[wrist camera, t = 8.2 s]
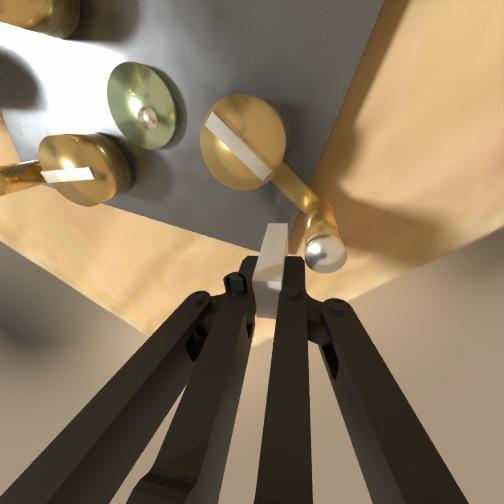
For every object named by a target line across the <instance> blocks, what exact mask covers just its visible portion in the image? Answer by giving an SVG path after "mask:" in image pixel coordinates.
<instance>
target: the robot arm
mask: <svg viewBox="0 0 504 504" xmlns="http://www.w3.org/2000/svg"><path fill="white" fill-rule="evenodd" d="M223 281H224V285H225V289H226V292H225V293H224V294H221V295H216V296H210V294H209V293H208V292H206V291H197V292H194V293H192V294H191V295H189V296H188V297H187V298H186V299H185V300H184V301H183V303H182V304H181V305H180V306H179V307H178V308H177V309H176V310H175V311H174V312H173V313H172V314H171V315H170V316H169V317H168V319H167V320H166V321H165V322H164V323H163V324H162V325H161V326H160V327H159V328H158V329H157V330H156V331H155V332H154V333H153V334H152V336H151V337H150V338H149V339H148V340H147V341H146V342H145V343H144V344H143V345H142V346H141V347H140V348H139V349H138V350H137V352H136V353H135V354H134V355H133V356H132V357H131V358H130V359H129V360H128V361H127V362H126V363H125V364H124V366H122V368H121V369H120V370H119V371H118V372H117V373H116V374H115V375H114V376H113V377H112V378H111V379H110V380H109V381H108V382H107V384H106V385H105V386H104V387H103V388H102V389H101V390H100V391H99V392H98V393H97V394H96V395H95V396H94V397H93V398H92V400H91V401H90V402H89V403H88V404H87V405H86V406H85V407H84V408H83V409H82V410H81V411H80V412H79V413H78V414H77V416H76V417H75V418H74V419H73V420H72V421H71V422H70V423H69V424H68V425H67V426H66V427H65V428H64V430H62V431H61V433H60V434H59V435H58V436H57V437H56V438H55V439H54V440H53V441H52V442H51V443H50V444H49V446H47V447H46V449H45V450H44V451H43V452H42V453H41V454H40V455H39V456H38V457H37V458H36V459H35V460H34V461H33V462H32V464H30V466H29V467H28V468H27V469H26V470H25V471H24V472H23V473H22V474H21V475H20V476H19V477H18V478H17V479H16V481H15V482H14V483H13V484H12V485H11V486H10V487H9V488H8V489H7V490H6V491H5V492H4V493H3V494H2V495H1V496H0V504H109V503H110V501H111V500H112V498H113V497H114V495H115V494H116V492H117V491H118V489H119V488H120V486H121V484H122V483H123V481H124V480H125V478H126V477H127V475H128V474H129V472H130V470H131V469H132V468H133V466H134V464H135V463H136V461H137V460H138V458H139V457H140V455H141V453H142V452H143V451H144V449H145V448H146V446H147V445H148V443H149V441H150V440H151V438H152V437H153V435H154V434H155V432H156V431H157V429H158V428H159V426H160V425H161V423H162V421H163V420H164V418H165V417H166V415H167V414H168V412H169V411H170V409H171V408H172V406H173V405H174V403H175V401H176V400H177V398H178V397H179V395H180V394H181V392H182V391H183V389H184V388H185V386H186V385H187V386H186V388H185V391H184V393H183V396H182V398H181V400H180V403H179V405H178V408H177V410H176V413H175V415H174V417H173V420H172V422H171V424H170V427H169V430H168V432H167V434H166V436H165V439H164V442H163V444H162V446H161V449H160V451H159V453H158V456H157V458H156V460H155V462H154V464H153V467H152V468H151V470H150V471H149V472H148V473H147V474H146V475H145V476H144V477H142V478H141V479H140V480H139V482H138V483H137V485H136V486H135V487H134V489H133V491H132V493H131V495H130V497H129V498H128V500H127V502H126V504H218V499H219V494H220V489H221V485H222V479H223V475H224V470H225V466H226V461H227V456H228V452H229V447H230V442H231V437H232V433H233V428H234V423H235V418H236V413H237V409H238V404H239V399H240V395H241V390H242V385H243V380H244V376H245V371H246V366H247V362H248V357H249V352H250V348H251V343H252V338H253V333H254V329H255V314H256V315H257V317H259V318H270V319H276V325H275V334H274V342H273V351H272V359H271V369H270V376H269V385H268V393H267V402H266V410H265V418H264V427H263V435H262V444H261V452H260V461H259V469H258V477H257V486H256V493H255V499H254V504H313V492H312V464H311V463H312V462H311V461H312V460H311V430H310V429H311V428H310V396H309V368H308V367H309V364H308V340H309V341H311V342H314V343H316V344H318V346H319V349H320V352H321V355H322V358H323V361H324V364H325V366H326V369H327V372H328V375H329V378H330V381H331V384H332V387H333V390H334V392H335V396H336V398H337V401H338V404H339V407H340V410H341V413H342V416H343V419H344V421H345V424H346V427H347V430H348V433H349V436H350V439H351V442H352V445H353V448H354V451H355V454H356V456H357V459H358V462H359V465H360V468H361V471H362V474H363V477H364V479H365V482H366V485H367V488H368V491H369V494H370V497H371V500H372V502H373V504H469V503H468V501H467V500H466V498H465V496H464V495H463V493H462V491H461V490H460V488H459V486H458V485H457V483H456V481H455V480H454V478H453V476H452V475H451V473H450V471H449V470H448V468H447V466H446V465H445V463H444V461H443V460H442V458H441V456H440V454H439V453H438V451H437V450H436V448H435V446H434V444H433V443H432V441H431V440H430V438H429V436H428V434H427V433H426V431H425V429H424V428H423V426H422V424H421V423H420V421H419V419H418V418H417V416H416V414H415V413H414V411H413V409H412V407H411V406H410V404H409V403H408V401H407V399H406V398H405V396H404V394H403V393H402V391H401V389H400V387H399V386H398V384H397V382H396V381H395V379H394V377H393V376H392V374H391V372H390V371H389V369H388V367H387V365H386V364H385V362H384V361H383V359H382V357H381V355H380V354H379V352H378V350H377V349H376V347H375V345H374V344H373V342H372V340H371V339H370V337H369V336H368V334H367V332H366V330H365V329H364V327H363V325H362V324H361V322H360V320H359V319H358V317H357V315H356V313H355V312H354V310H353V308H352V307H351V306H350V305H349V304H348V303H347V302H345V301H344V300H341V299H338V298H331V299H327V300H325V301H324V302H320V301H317V300H315V299H313V298H311V297H310V296H309V295H308V294H307V292H306V289H305V261H304V260H303V258H302V257H301V256H288V223H268V226H267V230H266V233H265V236H264V240H263V243H262V247H261V250H260V254H259V256H247V257H246V258H245V259H244V260H243V261H242V264H241V266H240V269H239V271H238V272H233V273H230V274H228V275H226V276H225V277H224V279H223ZM187 383H188V384H187Z"/></svg>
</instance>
